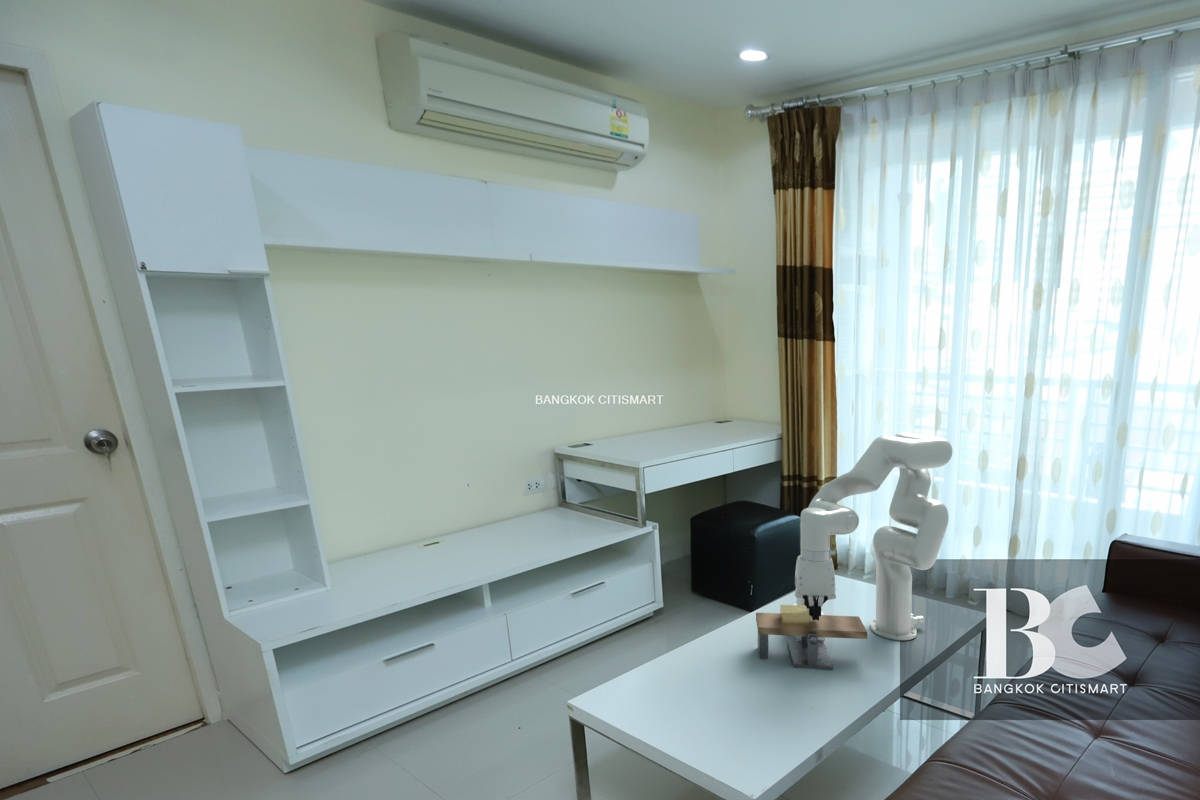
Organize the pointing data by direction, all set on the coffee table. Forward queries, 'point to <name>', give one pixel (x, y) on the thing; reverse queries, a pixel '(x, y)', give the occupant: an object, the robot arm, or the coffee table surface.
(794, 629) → the beam
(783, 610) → the slider
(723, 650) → the coffee table surface
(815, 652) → the stand
